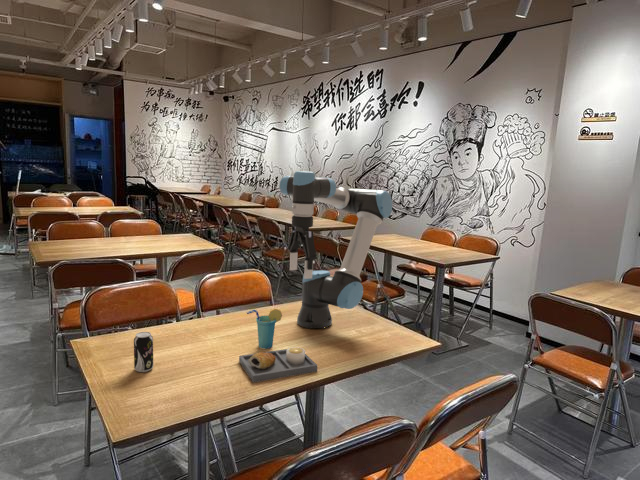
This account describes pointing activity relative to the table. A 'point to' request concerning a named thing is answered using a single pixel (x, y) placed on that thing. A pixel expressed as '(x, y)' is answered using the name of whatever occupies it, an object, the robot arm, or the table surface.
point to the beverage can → (143, 352)
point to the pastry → (262, 360)
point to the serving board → (280, 365)
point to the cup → (266, 327)
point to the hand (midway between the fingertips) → (300, 274)
